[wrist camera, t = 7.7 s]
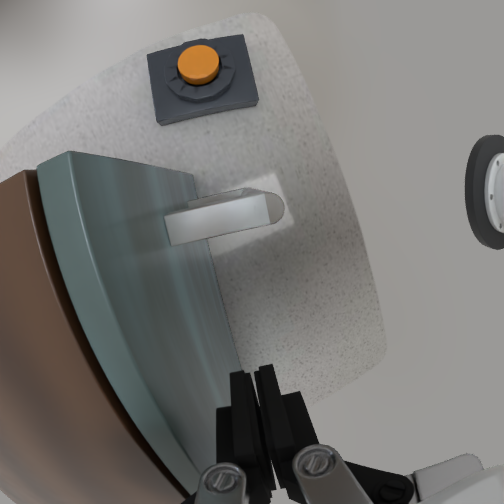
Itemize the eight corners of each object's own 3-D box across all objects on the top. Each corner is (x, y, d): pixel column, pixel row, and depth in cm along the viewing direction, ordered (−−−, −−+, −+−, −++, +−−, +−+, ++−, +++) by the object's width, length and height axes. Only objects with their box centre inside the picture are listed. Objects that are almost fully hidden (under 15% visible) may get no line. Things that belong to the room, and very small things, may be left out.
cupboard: (181, 176, 28) (24, 168, 4) (236, 385, 35) (258, 560, 11) (43, 220, 27) (-124, 288, 3) (116, 399, 34) (70, 541, 10)
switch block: (241, 42, 25) (244, 25, 21) (256, 105, 27) (261, 94, 23) (151, 61, 24) (142, 47, 20) (161, 126, 26) (152, 118, 22)
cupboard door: (242, 162, 28) (330, 88, 5) (285, 375, 35) (341, 541, 12) (182, 176, 28) (33, 165, 4) (238, 385, 34) (261, 559, 11)
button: (215, 49, 22) (215, 41, 20) (222, 80, 23) (222, 74, 21) (177, 57, 21) (175, 49, 20) (183, 88, 22) (180, 82, 21)
